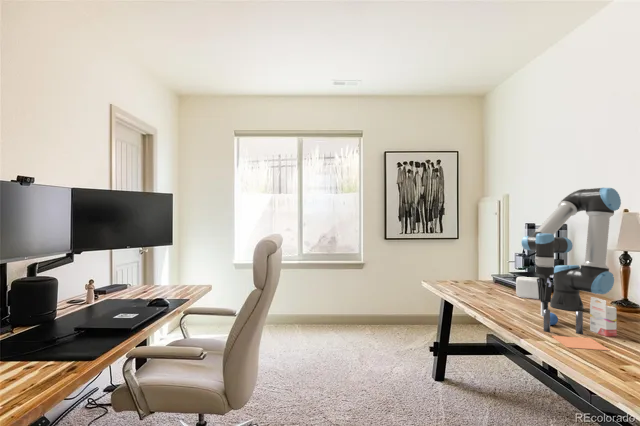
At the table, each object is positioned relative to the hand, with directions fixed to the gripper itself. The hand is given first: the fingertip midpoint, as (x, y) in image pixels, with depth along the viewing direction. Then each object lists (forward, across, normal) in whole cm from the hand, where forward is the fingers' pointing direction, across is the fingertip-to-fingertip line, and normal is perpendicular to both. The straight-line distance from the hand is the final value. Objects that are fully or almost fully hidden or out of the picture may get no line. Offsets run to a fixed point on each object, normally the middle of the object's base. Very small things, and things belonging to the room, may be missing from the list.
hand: (544, 315), depth 176 cm
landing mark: (+2, +33, 0) cm, 33 cm away
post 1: (+2, +19, -6) cm, 20 cm away
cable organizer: (+2, -56, +12) cm, 57 cm away
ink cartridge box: (+2, +17, +16) cm, 24 cm away
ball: (-1, +8, 0) cm, 8 cm away
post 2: (+2, +19, +6) cm, 20 cm away
